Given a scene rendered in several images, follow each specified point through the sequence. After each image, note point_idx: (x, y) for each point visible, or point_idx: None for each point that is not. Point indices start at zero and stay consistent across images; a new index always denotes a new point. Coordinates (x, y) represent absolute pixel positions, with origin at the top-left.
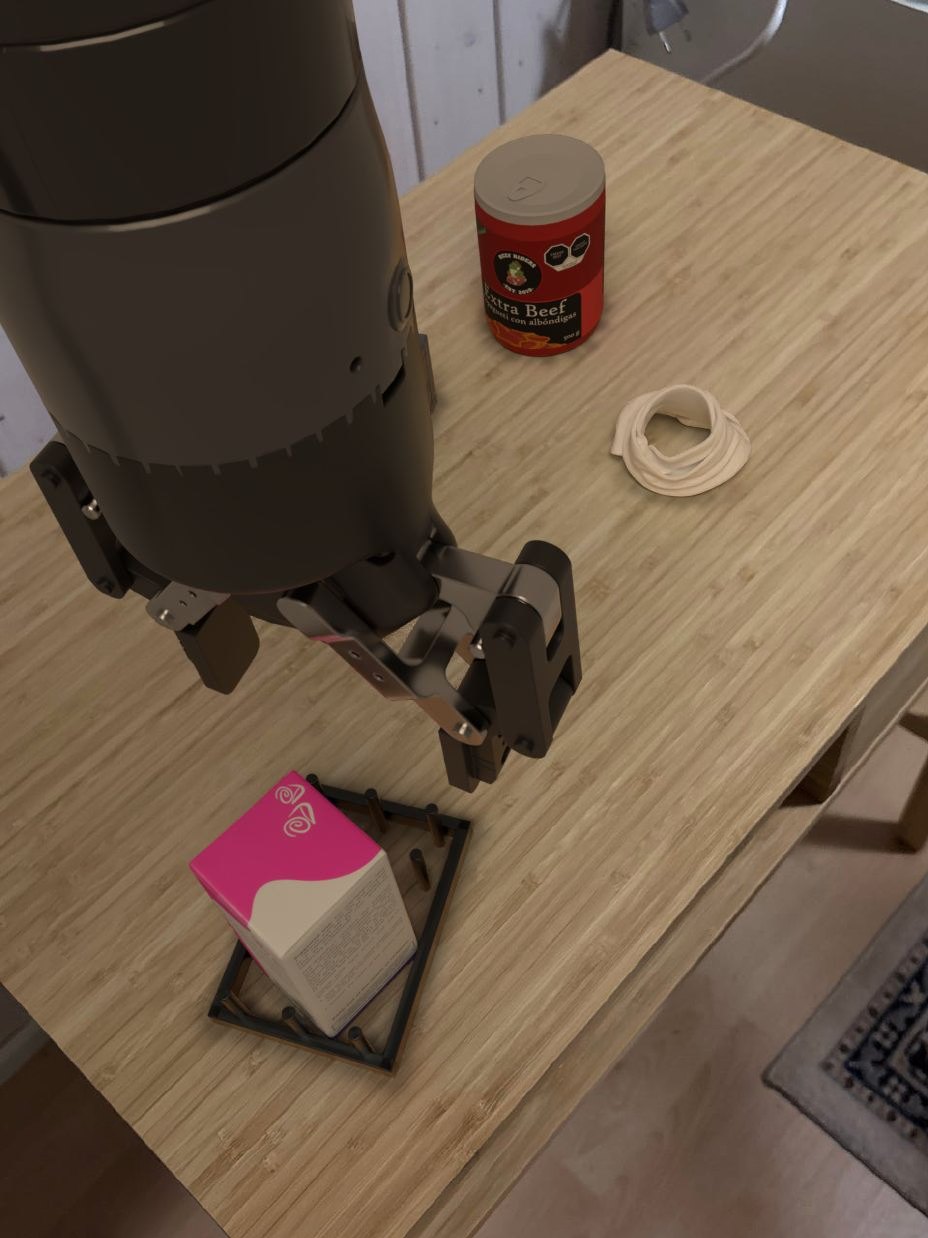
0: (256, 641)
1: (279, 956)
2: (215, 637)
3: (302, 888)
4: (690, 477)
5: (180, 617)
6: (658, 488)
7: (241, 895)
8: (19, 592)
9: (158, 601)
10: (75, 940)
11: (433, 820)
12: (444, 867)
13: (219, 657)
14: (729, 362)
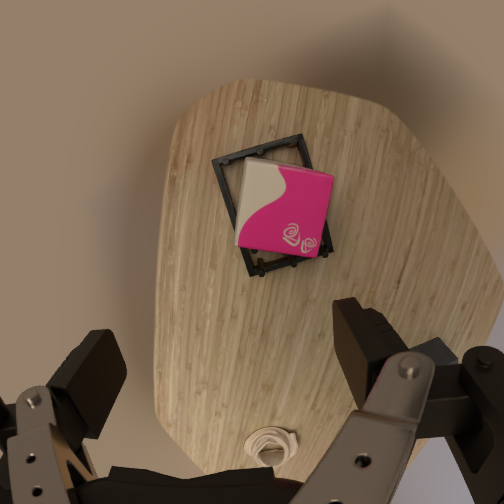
0: (337, 353)
1: (248, 160)
2: (356, 359)
3: (263, 201)
4: (257, 438)
5: (386, 388)
6: (269, 428)
7: (292, 177)
8: (486, 254)
9: (420, 394)
10: (378, 133)
11: (259, 269)
12: (247, 251)
13: (347, 337)
14: (274, 468)
